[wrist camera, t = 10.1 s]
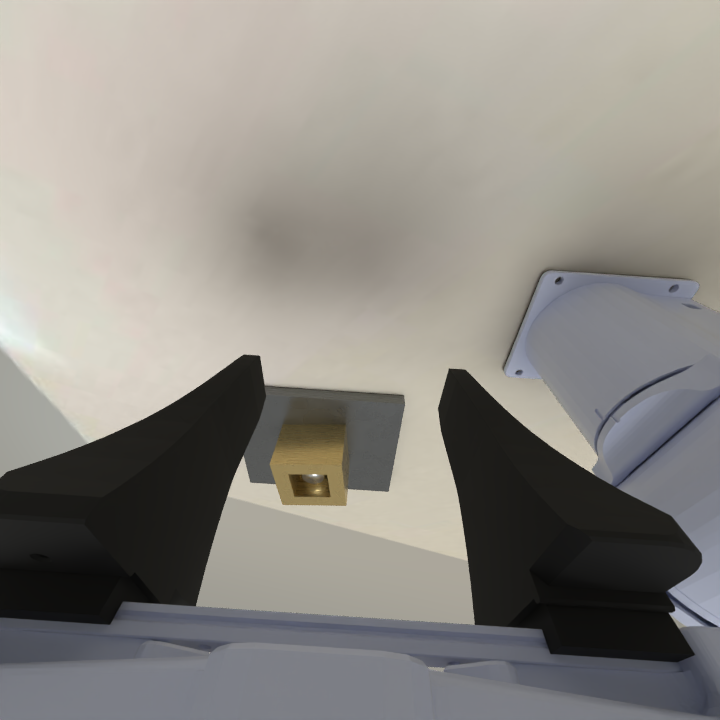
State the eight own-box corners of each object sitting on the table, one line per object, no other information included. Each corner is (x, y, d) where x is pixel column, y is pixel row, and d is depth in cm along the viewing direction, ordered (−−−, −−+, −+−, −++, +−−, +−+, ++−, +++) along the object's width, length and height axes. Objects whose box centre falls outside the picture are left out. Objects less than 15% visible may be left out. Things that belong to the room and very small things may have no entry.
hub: (345, 424, 26) (341, 464, 23) (349, 465, 29) (346, 505, 26) (282, 424, 26) (269, 464, 23) (292, 464, 29) (282, 504, 26)
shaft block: (403, 395, 25) (408, 432, 22) (388, 482, 32) (389, 521, 29) (233, 384, 25) (212, 419, 22) (253, 473, 32) (239, 511, 29)
